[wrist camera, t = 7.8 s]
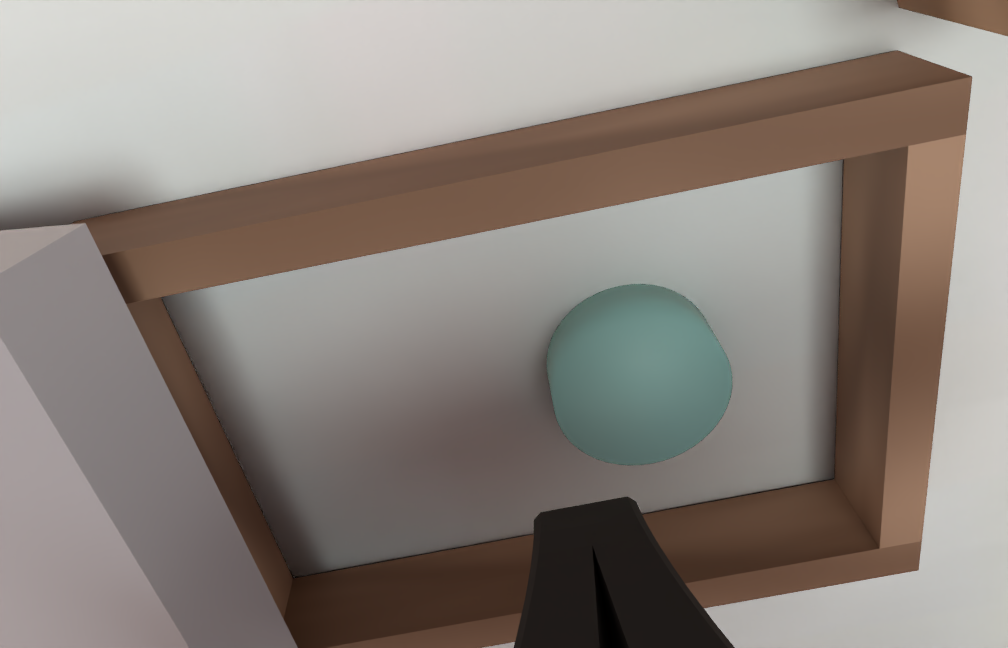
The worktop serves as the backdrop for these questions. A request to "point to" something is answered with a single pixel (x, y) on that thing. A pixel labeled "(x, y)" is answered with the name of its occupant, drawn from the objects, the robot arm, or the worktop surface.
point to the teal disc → (637, 375)
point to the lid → (105, 475)
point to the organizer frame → (582, 187)
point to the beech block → (965, 12)
